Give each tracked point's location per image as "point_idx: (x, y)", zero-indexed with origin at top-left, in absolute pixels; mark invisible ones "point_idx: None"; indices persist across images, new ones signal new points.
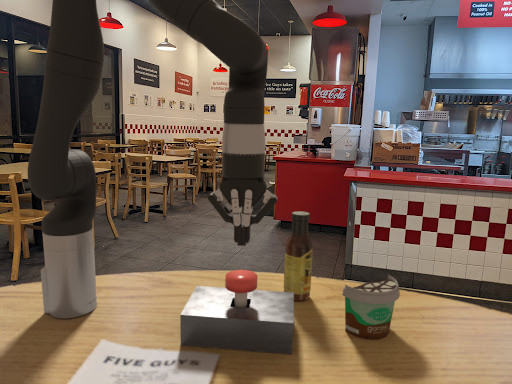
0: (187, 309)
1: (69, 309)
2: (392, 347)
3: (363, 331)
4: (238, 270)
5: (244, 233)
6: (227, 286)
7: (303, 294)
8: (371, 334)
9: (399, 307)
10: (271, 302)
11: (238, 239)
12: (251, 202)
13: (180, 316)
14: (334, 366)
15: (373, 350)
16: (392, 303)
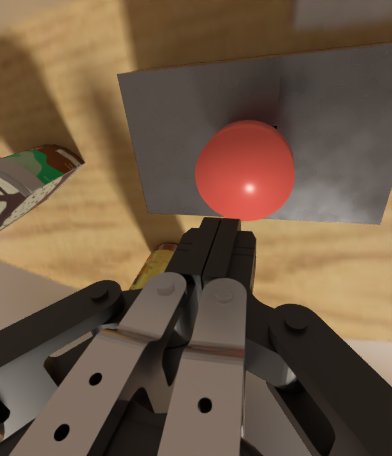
0: None
1: None
2: (17, 128)
3: (48, 148)
4: (256, 215)
5: (194, 249)
6: (284, 139)
7: (156, 250)
8: (40, 146)
9: (36, 235)
10: (181, 163)
11: (230, 231)
12: (28, 429)
13: None
14: (76, 47)
15: (37, 114)
16: None
